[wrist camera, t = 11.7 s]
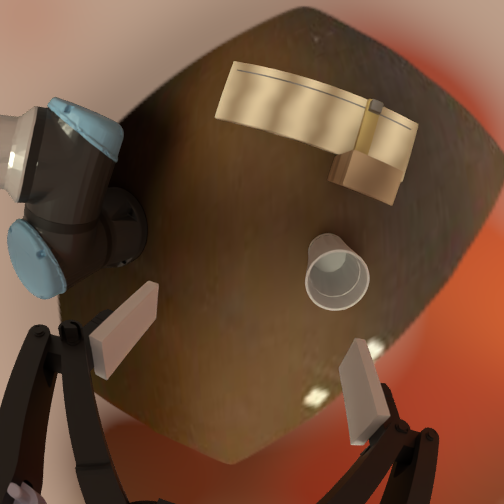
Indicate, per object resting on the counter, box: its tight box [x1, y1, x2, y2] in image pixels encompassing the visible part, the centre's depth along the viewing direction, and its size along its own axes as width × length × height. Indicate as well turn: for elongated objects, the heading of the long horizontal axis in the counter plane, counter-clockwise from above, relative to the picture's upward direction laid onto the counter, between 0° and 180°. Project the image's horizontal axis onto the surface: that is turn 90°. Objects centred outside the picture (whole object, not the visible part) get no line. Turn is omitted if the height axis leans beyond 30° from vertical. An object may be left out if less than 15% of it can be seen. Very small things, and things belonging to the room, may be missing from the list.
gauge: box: [327, 99, 403, 206], centre depth 30 cm, size 6×14×14 cm, turn 163°
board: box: [215, 61, 418, 182], centre depth 36 cm, size 30×10×2 cm, turn 73°
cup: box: [305, 233, 369, 311], centre depth 37 cm, size 8×8×12 cm
